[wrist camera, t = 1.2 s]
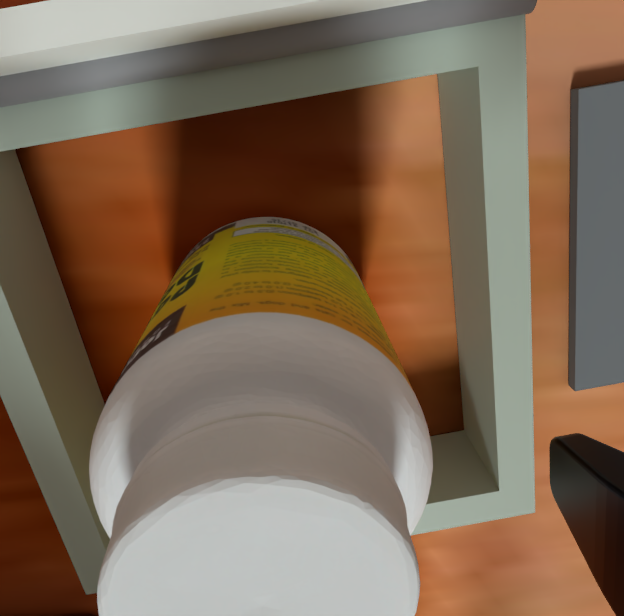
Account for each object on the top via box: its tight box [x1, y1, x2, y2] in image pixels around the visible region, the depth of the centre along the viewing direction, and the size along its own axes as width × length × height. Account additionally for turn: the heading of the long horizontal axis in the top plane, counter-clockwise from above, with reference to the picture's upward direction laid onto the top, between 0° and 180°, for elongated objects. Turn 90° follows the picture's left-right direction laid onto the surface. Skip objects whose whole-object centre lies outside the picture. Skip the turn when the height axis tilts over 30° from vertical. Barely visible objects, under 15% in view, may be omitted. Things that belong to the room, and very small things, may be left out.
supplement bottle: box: [89, 217, 433, 616], centre depth 11 cm, size 6×6×10 cm
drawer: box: [0, 0, 537, 595], centre depth 13 cm, size 14×13×6 cm
